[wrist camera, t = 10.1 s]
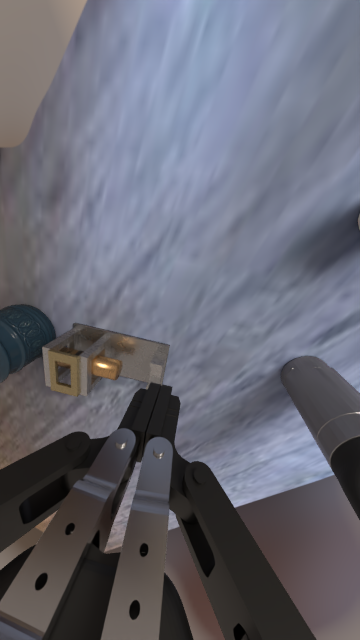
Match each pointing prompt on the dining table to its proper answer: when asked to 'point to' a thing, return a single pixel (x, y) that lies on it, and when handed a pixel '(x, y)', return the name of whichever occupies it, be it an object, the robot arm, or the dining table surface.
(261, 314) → the dining table surface
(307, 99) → the dining table surface
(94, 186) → the dining table surface
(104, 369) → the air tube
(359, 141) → the dining table surface
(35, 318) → the canister
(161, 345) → the collar stand
